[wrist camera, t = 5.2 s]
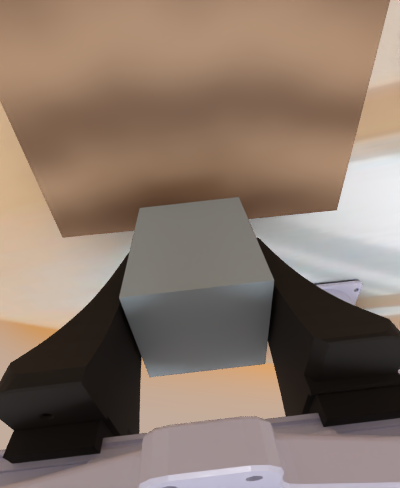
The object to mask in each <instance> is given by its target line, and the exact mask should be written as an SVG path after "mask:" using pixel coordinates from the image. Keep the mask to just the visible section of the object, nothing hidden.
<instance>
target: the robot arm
mask: <svg viewBox="0 0 400 488" xmlns="http://www.w3.org/2000/svg"><path fill="white" fill-rule="evenodd" d="M256 239H257V241H258V243H259V246H260V248H261V250H262V253H263V255H264V257H265V260H266V262H267V264H268V267H269V269H270V271H271V274H272V276H273V279H274V287H273V296H272V305H271V314H270V323H269V333H268V343H269V347H270V351H271V354H272V359H273V363H274V367H275V371H276V375H277V379H278V383H279V387H280V392H281V396H282V401H283V405H284V410H285V415H286V417H278V418H270V419H262V418H259V417H234V418H225V419H217V420H208V421H200V422H191V423H184V424H175V425H167V426H163V427H159V428H155V429H153V430H152V431H150V432H149V433H142V434H139V411H140V378H141V357H142V356H141V353H140V351H139V348H138V346H137V343H136V341H135V338H134V335H133V333H132V330H131V328H130V325H129V322H128V320H127V317H126V315H125V312H124V310H123V307H122V304H121V302H120V299H119V296H120V291H121V287H122V283H123V278H124V274H125V270H126V265H127V261H128V257H129V253H128V255H127V256H126V257H125V259H124V260H123V262H122V263H121V264H120V266H119V267H118V269H117V270H116V271H115V273H114V274H113V275H112V277H111V278H110V279H109V281H108V282H107V283H106V284H105V286H104V287H103V288H102V289H101V290H100V292H99V293H98V294H97V295H96V296H95V297H94V298H93V300H92V301H91V302H90V303H89V304H88V305H87V306H86V307H85V308H84V309H83V310H82V311H80V312H79V313H78V314H77V315H76V316H75V317H74V318H73V319H71V320H70V321H69V322H68V323H67V324H66V325H64V326H63V327H62V328H61V329H59V330H58V331H57V332H56V333H55V334H53V335H52V336H51V337H49V338H48V339H47V340H45V341H43V342H42V343H41V344H39V345H38V346H37V347H35V348H33V349H32V350H30V351H29V352H27V353H26V354H24V355H22V356H21V357H19V358H18V359H16V360H15V361H13V362H11V363H10V365H9V366H8V368H7V370H6V372H5V373H4V375H3V377H2V379H1V381H0V419H1V420H2V421H3V422H4V423H6V424H7V425H8V426H9V427H11V428H12V429H13V430H14V432H13V434H12V436H11V439H10V441H9V443H8V446H7V448H6V449H5V450H0V488H400V331H399V330H398V329H397V328H396V326H395V325H394V324H393V323H392V322H391V321H390V320H389V319H387V318H384V317H382V316H379V315H377V314H374V313H371V312H369V311H366V310H364V309H361V308H359V307H357V306H355V303H356V301H357V298H358V296H359V293H360V291H361V288H362V285H363V284H362V283H361V282H360V281H349V282H339V283H329V284H320V285H315V284H313V283H311V282H310V281H308V280H307V279H305V278H304V277H302V276H301V275H300V274H298V273H297V272H296V271H294V270H293V269H292V268H291V267H289V266H288V265H287V264H286V263H285V262H284V261H282V260H281V259H280V258H279V257H278V256H277V255H276V254H275V253H274V252H272V251H271V250H270V249H269V248H268V247H267V246H266V245H265V244H264V243H263V242H262V241H261V240H260V239H259V238H256Z"/></svg>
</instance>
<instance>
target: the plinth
mask: <svg viewBox="0 0 400 488" xmlns="http://www.w3.org/2000/svg"><path fill="white" fill-rule="evenodd" d="M389 2H390V0H0V101H1V103H2V106H3V108H4V110H5V112H6V114H7V117H8V119H9V121H10V123H11V125H12V128H13V130H14V132H15V134H16V136H17V139H18V141H19V143H20V145H21V147H22V149H23V152H24V154H25V156H26V158H27V160H28V163H29V165H30V167H31V169H32V171H33V174H34V176H35V178H36V180H37V182H38V184H39V187H40V189H41V191H42V193H43V195H44V198H45V200H46V202H47V204H48V206H49V209H50V211H51V213H52V215H53V217H54V220H55V222H56V224H57V226H58V228H59V230H60V233H61V235H62V237H73V236H83V235H93V234H103V233H113V232H123V231H133V230H135V226H136V222H137V217H138V213H139V209H140V208H144V207H153V206H162V205H171V204H180V203H189V202H198V201H207V200H217V199H226V198H235V197H239V199H240V201H241V203H242V206H243V208H244V210H245V213H246V215H247V217H248V219H253V218H263V217H273V216H283V215H293V214H303V213H313V212H323V211H333V210H337V207H338V203H339V199H340V195H341V191H342V187H343V183H344V179H345V175H346V171H347V167H348V163H349V159H350V155H351V152H352V148H353V144H354V140H355V136H356V132H357V128H358V124H359V120H360V116H361V112H362V108H363V104H364V100H365V96H366V93H367V89H368V85H369V81H370V77H371V73H372V69H373V65H374V61H375V57H376V53H377V49H378V45H379V41H380V37H381V34H382V30H383V26H384V22H385V18H386V14H387V10H388V6H389Z"/></svg>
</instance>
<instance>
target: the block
mask: <svg viewBox="0 0 400 488" xmlns="http://www.w3.org/2000/svg"><path fill="white" fill-rule="evenodd" d="M273 287H274V279H273V276H272V274H271V271H270V269H269V267H268V264H267V262H266V260H265V257H264V255H263V253H262V250H261V248H260V246H259V243H258V241H257V239H256V236H255V234H254V231H253V229H252V227H251V224H250V222H249V220H248V217H247V215H246V213H245V210H244V208H243V206H242V203H241V201H240V199H239V197H235V198H226V199H217V200H207V201H198V202H189V203H180V204H171V205H162V206H153V207H144V208H140V209H139V213H138V217H137V222H136V226H135V230H134V235H133V239H132V244H131V248H130V252H129V257H128V261H127V265H126V270H125V274H124V278H123V283H122V287H121V291H120V296H119V299H120V302H121V304H122V307H123V310H124V312H125V315H126V317H127V320H128V322H129V325H130V328H131V330H132V333H133V335H134V338H135V341H136V343H137V346H138V348H139V351H140V353H141V356H142V358H143V361H144V364H145V366H146V369H147V371H148V374H149V377H156V376H164V375H173V374H182V373H190V372H199V371H208V370H217V369H224V368H234V367H243V366H251V365H260V364H265V360H266V351H267V342H268V333H269V323H270V314H271V305H272V296H273Z"/></svg>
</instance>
